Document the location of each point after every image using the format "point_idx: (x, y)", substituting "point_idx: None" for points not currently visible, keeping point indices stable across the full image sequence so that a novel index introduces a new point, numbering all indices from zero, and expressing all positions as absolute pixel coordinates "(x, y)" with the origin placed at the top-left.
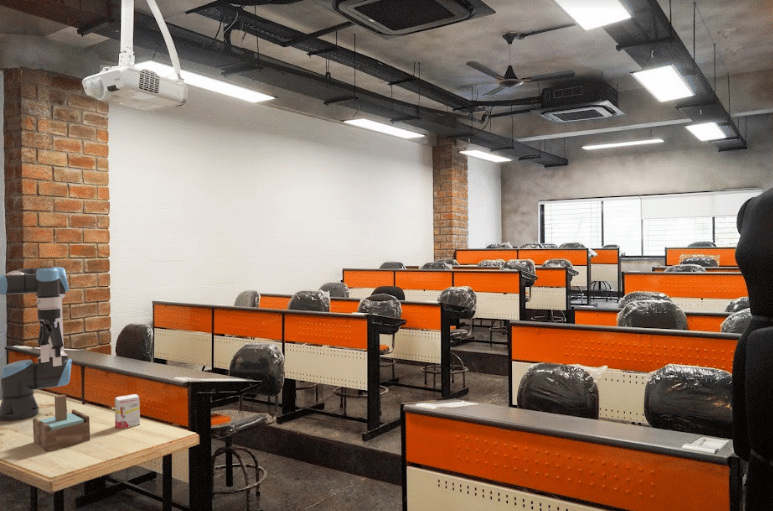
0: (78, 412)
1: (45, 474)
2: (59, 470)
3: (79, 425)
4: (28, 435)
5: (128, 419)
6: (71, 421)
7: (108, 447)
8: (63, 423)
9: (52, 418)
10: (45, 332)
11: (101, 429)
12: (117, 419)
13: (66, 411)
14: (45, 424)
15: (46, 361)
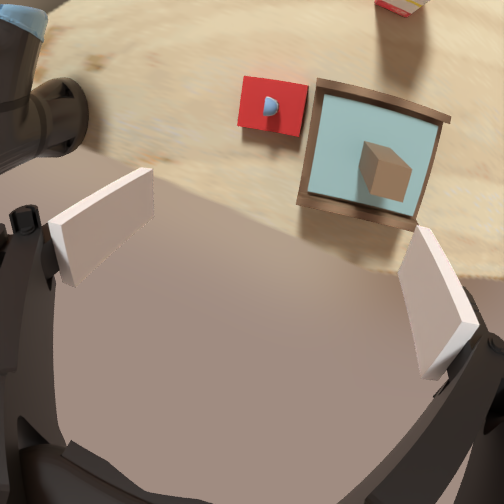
0: (372, 94)
1: (489, 275)
2: (499, 256)
3: (436, 142)
4: (228, 159)
5: None
6: (423, 156)
7: (500, 133)
8: (417, 179)
9: (332, 161)
10: (52, 437)
11: (364, 34)
12: (410, 10)
13: (396, 154)
14: (395, 223)
15: (151, 188)
